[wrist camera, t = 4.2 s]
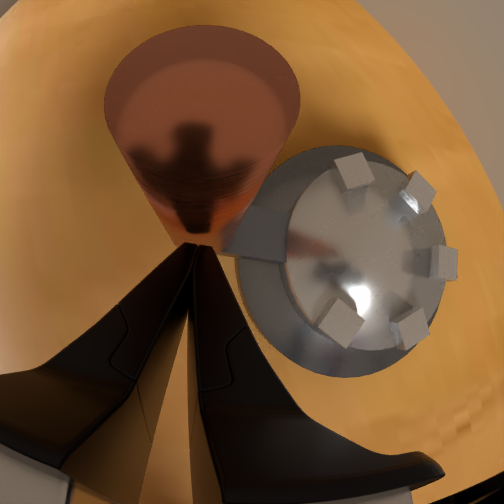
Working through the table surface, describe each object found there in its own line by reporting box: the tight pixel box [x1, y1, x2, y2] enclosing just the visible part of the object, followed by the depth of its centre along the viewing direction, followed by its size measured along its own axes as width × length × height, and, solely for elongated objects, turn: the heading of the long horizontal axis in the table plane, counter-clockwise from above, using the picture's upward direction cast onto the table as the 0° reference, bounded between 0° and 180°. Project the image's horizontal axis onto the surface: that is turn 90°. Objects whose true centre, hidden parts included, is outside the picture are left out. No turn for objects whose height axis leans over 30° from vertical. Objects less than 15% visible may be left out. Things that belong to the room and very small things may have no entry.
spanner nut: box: [104, 25, 458, 351], centre depth 11 cm, size 16×10×12 cm, turn 82°
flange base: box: [235, 146, 441, 378], centre depth 18 cm, size 14×21×2 cm, turn 37°
